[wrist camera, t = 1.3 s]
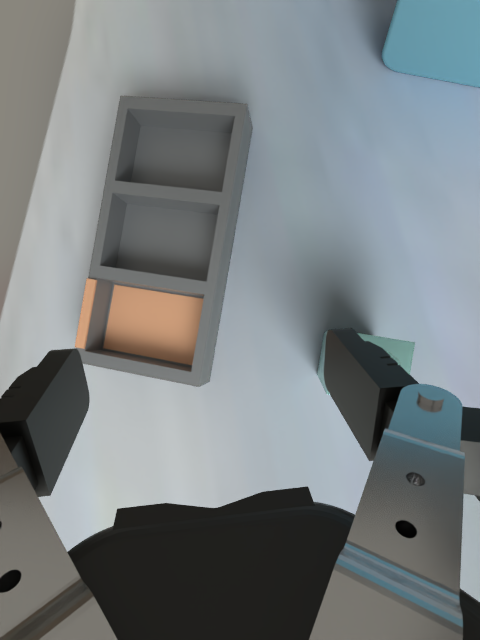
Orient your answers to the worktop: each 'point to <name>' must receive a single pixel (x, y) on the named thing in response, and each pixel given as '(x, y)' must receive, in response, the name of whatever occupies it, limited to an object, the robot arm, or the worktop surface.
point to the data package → (435, 40)
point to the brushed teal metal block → (393, 347)
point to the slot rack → (165, 238)
